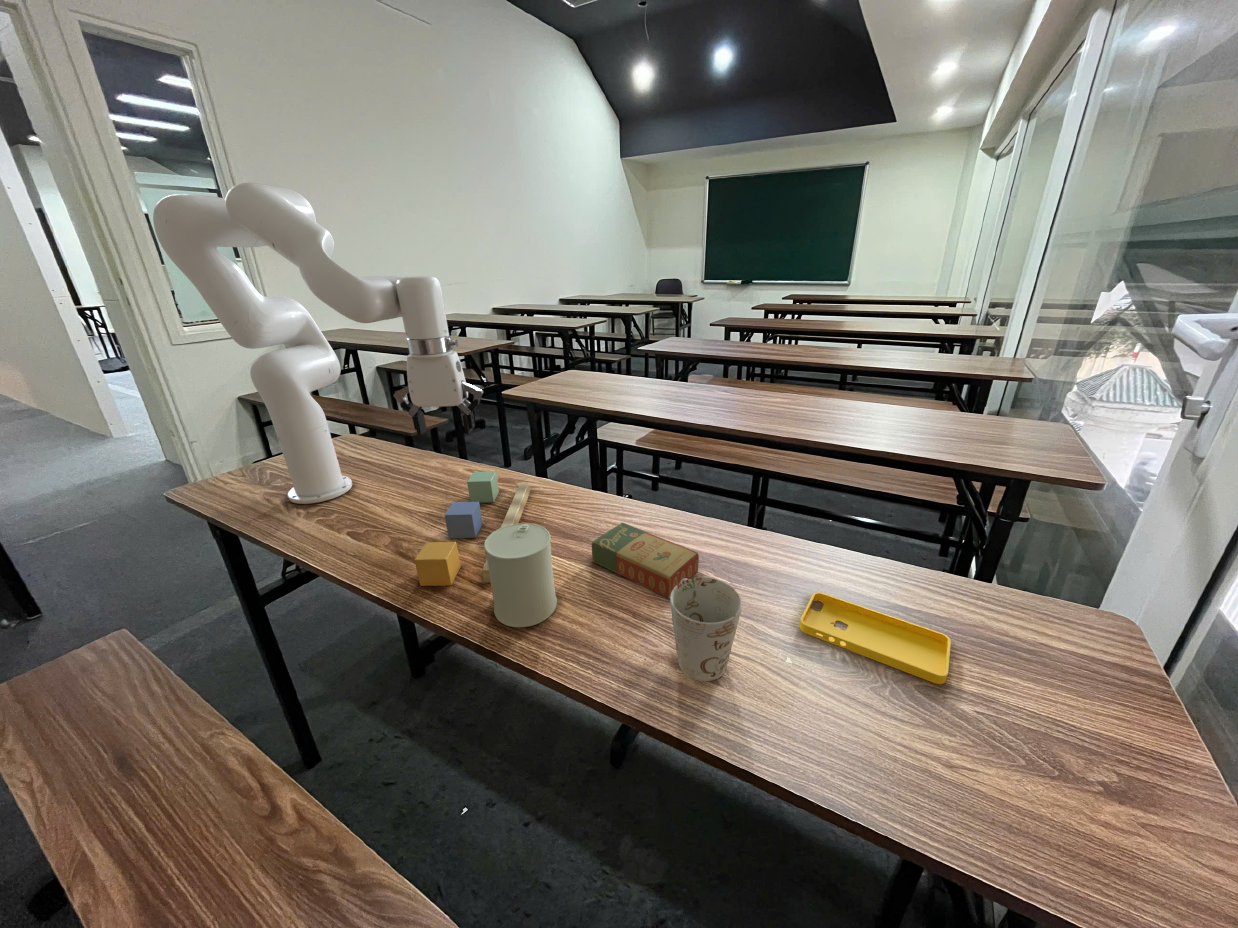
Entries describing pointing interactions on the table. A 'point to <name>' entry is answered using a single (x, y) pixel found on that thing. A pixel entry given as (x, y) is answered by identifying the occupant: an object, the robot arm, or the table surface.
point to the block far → (483, 487)
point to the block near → (437, 563)
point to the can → (521, 574)
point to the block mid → (463, 520)
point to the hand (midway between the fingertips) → (445, 432)
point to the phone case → (880, 637)
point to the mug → (704, 625)
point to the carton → (645, 558)
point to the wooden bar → (512, 517)
